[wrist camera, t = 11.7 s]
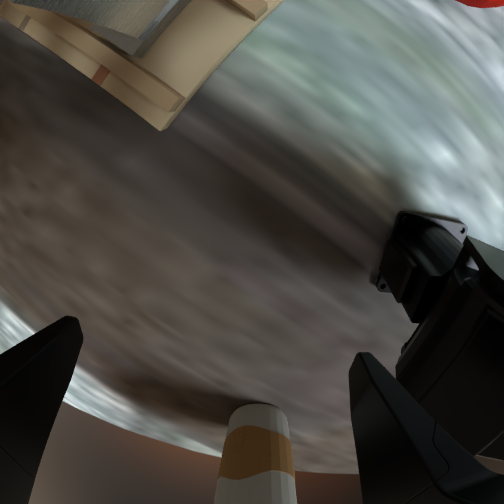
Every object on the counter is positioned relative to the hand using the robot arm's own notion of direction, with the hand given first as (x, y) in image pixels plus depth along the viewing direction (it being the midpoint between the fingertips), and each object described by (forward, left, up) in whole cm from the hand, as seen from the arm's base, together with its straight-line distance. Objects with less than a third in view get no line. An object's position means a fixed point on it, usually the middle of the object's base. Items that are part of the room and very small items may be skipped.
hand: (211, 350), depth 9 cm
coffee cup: (-4, +24, -13) cm, 28 cm away
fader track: (+10, -15, -13) cm, 22 cm away
